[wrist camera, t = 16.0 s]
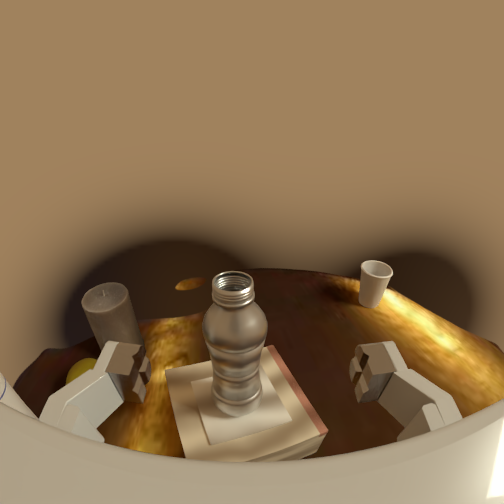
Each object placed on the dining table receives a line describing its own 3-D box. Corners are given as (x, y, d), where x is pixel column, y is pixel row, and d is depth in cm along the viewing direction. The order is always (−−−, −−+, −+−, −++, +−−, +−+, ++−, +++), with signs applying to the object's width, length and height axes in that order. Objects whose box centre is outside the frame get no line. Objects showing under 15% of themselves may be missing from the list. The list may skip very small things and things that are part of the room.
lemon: (102, 369, 47) (88, 341, 43) (127, 388, 43) (114, 360, 40) (66, 400, 38) (47, 374, 34) (89, 424, 35) (69, 399, 31)
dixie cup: (388, 302, 68) (398, 269, 63) (373, 315, 63) (383, 281, 59) (364, 288, 74) (371, 256, 69) (347, 300, 69) (354, 266, 65)
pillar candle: (150, 337, 56) (135, 278, 50) (134, 369, 48) (111, 309, 41) (114, 330, 57) (95, 274, 51) (95, 359, 49) (69, 301, 42)
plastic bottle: (213, 384, 37) (198, 263, 28) (260, 384, 37) (266, 262, 28) (211, 422, 31) (190, 302, 22) (264, 421, 32) (274, 301, 23)
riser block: (316, 452, 34) (328, 429, 30) (200, 489, 28) (190, 474, 24) (270, 374, 49) (273, 343, 45) (173, 397, 43) (164, 368, 39)
